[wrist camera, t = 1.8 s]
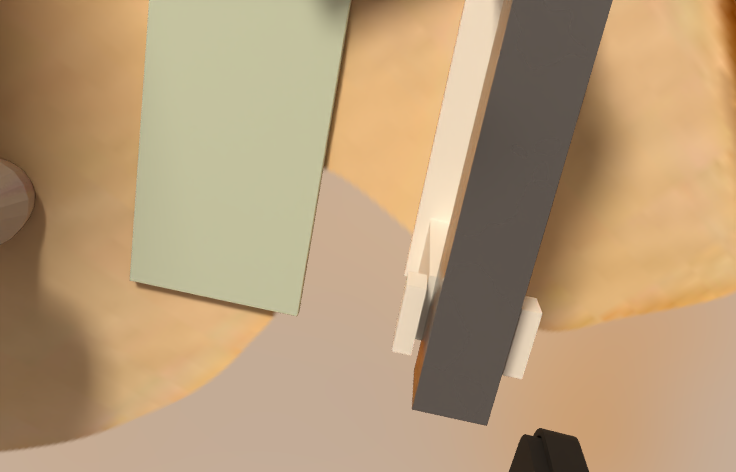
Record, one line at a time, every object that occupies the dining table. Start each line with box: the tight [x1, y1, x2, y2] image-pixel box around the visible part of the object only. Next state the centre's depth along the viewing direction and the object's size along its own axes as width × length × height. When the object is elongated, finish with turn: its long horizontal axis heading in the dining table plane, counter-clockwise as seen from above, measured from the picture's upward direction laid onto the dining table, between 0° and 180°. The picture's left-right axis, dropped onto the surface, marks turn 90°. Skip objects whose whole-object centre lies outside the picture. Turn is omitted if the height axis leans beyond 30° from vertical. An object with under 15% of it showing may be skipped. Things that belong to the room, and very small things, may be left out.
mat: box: [130, 0, 351, 316], centre depth 34 cm, size 24×10×1 cm, turn 169°
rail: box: [412, 0, 612, 426], centre depth 23 cm, size 22×3×3 cm, turn 169°
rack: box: [392, 0, 542, 379], centre depth 28 cm, size 20×5×10 cm, turn 169°
